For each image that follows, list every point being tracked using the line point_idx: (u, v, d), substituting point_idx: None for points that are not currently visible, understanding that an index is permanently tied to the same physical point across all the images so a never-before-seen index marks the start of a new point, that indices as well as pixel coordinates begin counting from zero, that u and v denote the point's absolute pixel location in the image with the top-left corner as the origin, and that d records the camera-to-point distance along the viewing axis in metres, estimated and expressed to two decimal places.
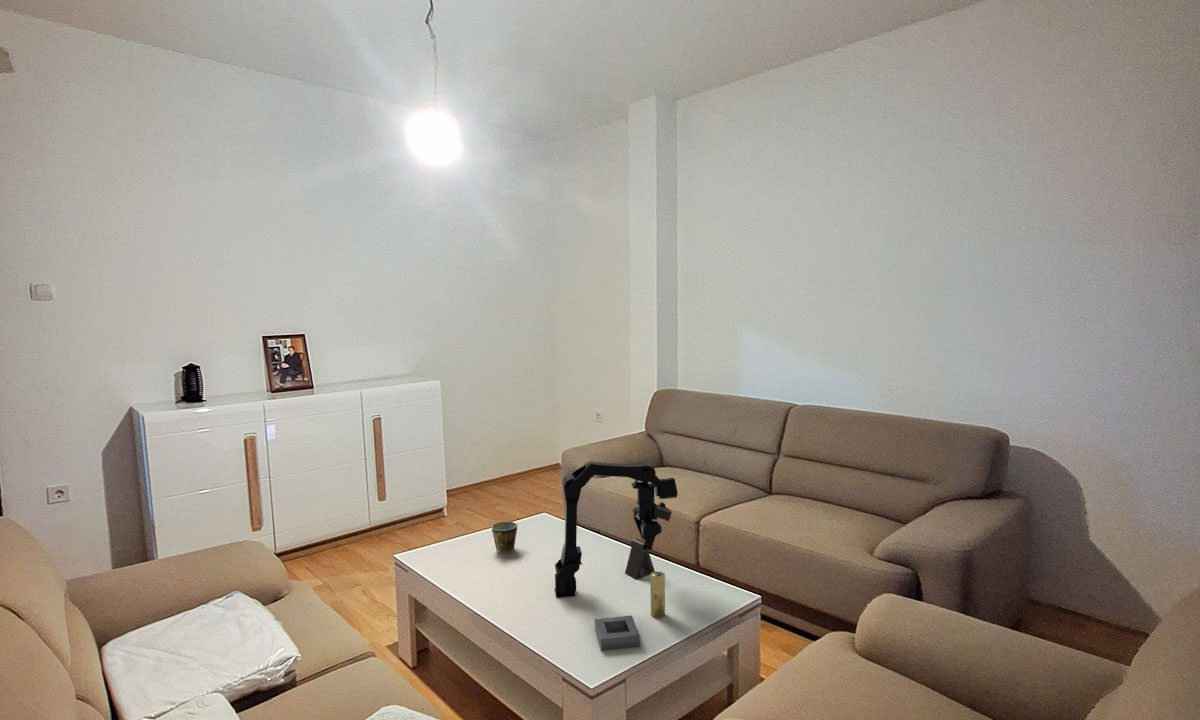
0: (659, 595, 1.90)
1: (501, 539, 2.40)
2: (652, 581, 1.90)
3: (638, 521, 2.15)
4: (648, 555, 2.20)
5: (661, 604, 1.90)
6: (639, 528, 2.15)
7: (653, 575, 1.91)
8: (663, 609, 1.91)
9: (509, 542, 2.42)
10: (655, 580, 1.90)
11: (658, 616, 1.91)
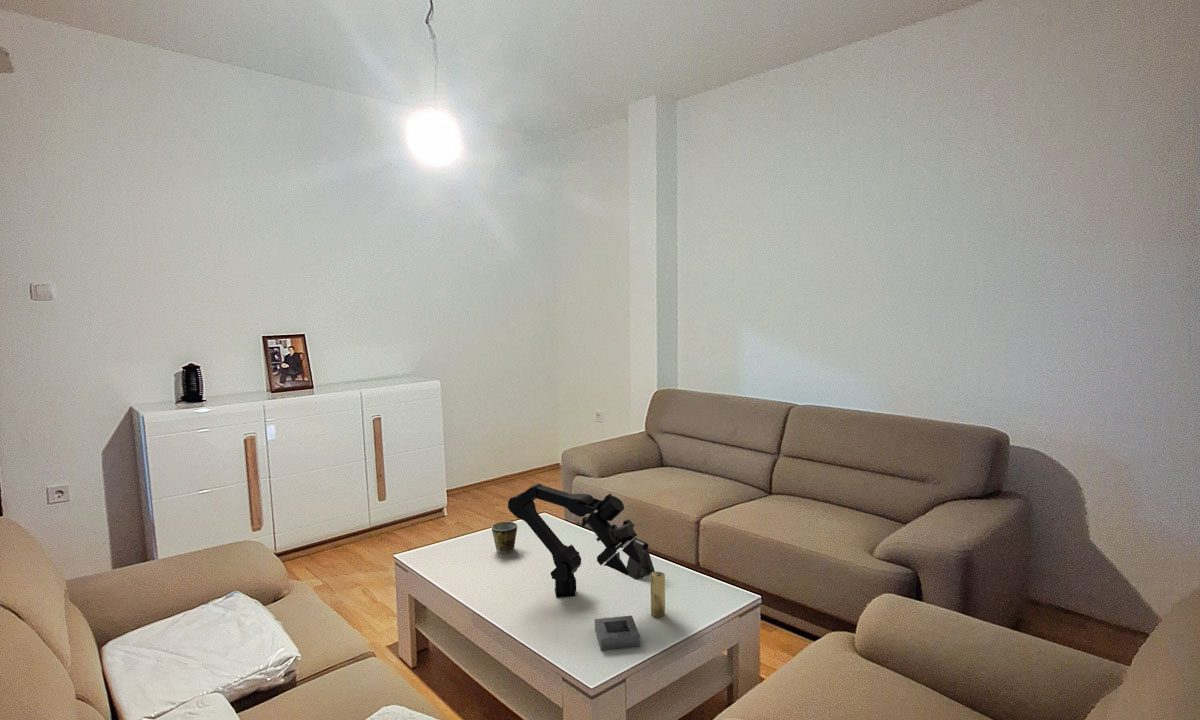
0: (659, 595, 1.90)
1: (501, 539, 2.40)
2: (652, 581, 1.90)
3: (625, 549, 2.02)
4: (648, 555, 2.20)
5: (661, 604, 1.90)
6: (629, 555, 2.01)
7: (653, 575, 1.91)
8: (663, 609, 1.91)
9: (509, 542, 2.42)
10: (655, 580, 1.90)
11: (658, 616, 1.91)
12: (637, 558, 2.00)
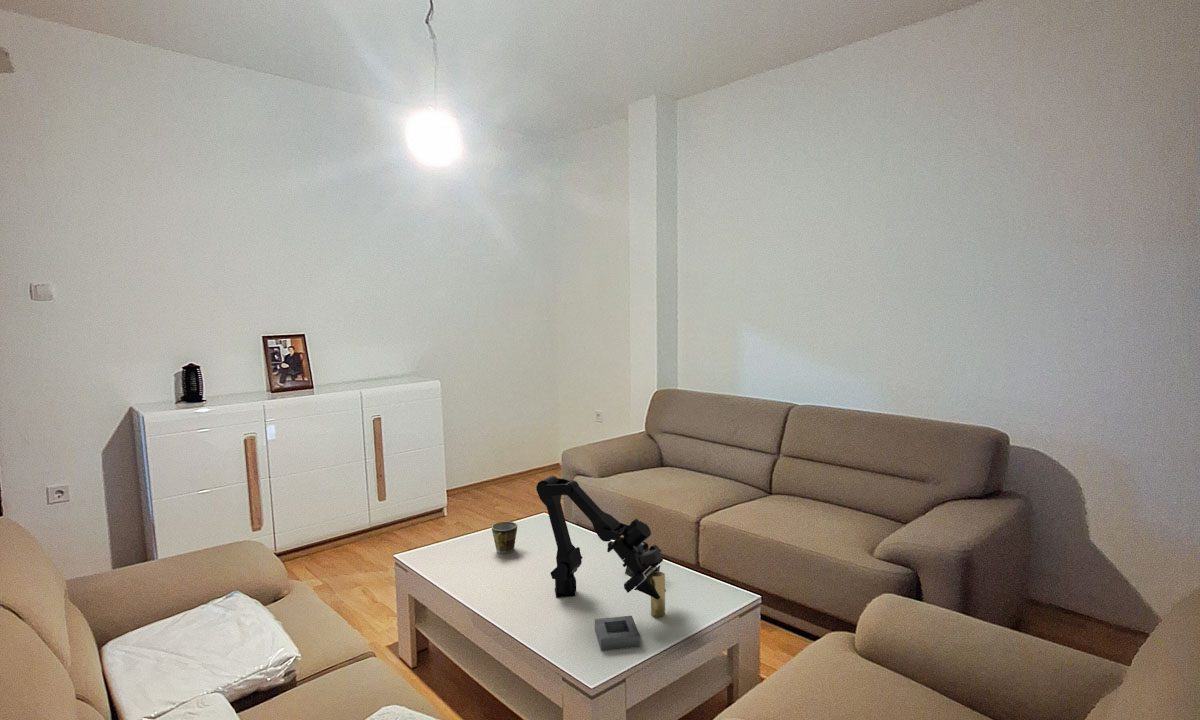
0: (659, 595, 1.90)
1: (501, 539, 2.40)
2: (652, 581, 1.90)
3: None
4: None
5: (661, 604, 1.90)
6: None
7: (654, 575, 1.91)
8: (663, 609, 1.91)
9: (509, 542, 2.42)
10: (655, 580, 1.90)
11: (658, 616, 1.91)
12: None
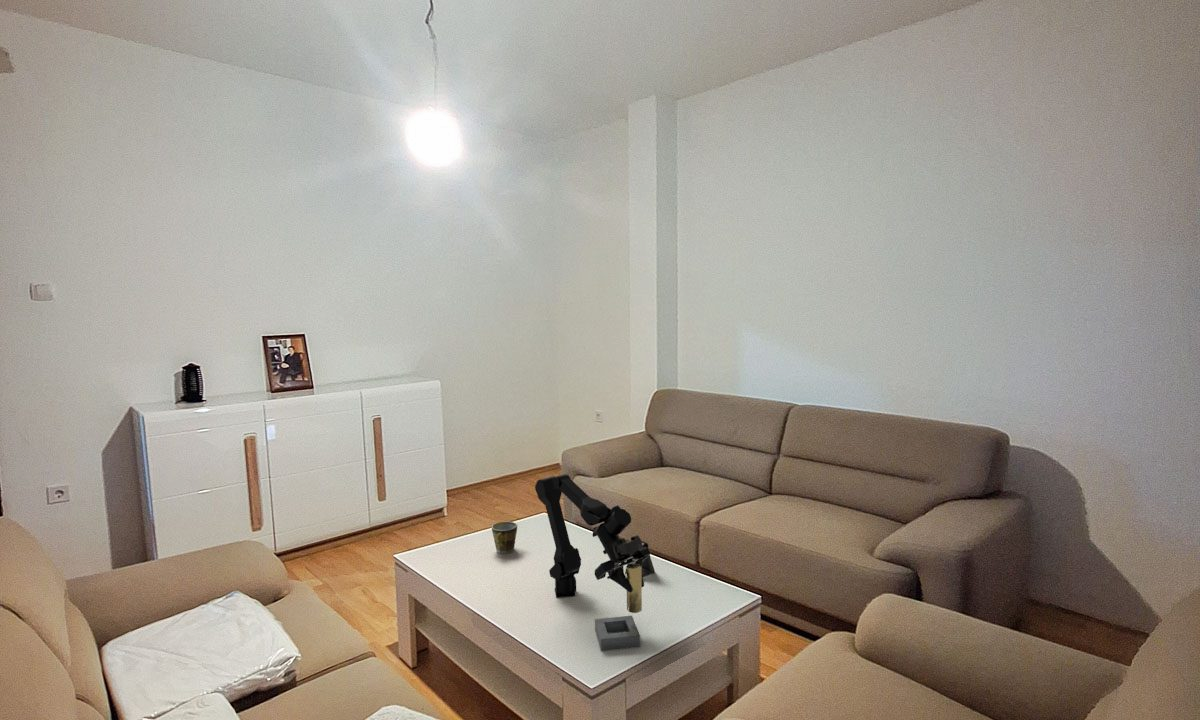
0: (633, 589, 1.80)
1: (501, 539, 2.40)
2: (626, 572, 1.81)
3: None
4: None
5: (635, 598, 1.80)
6: None
7: (629, 566, 1.81)
8: (637, 604, 1.81)
9: (509, 542, 2.42)
10: (628, 572, 1.80)
11: (632, 610, 1.81)
12: None
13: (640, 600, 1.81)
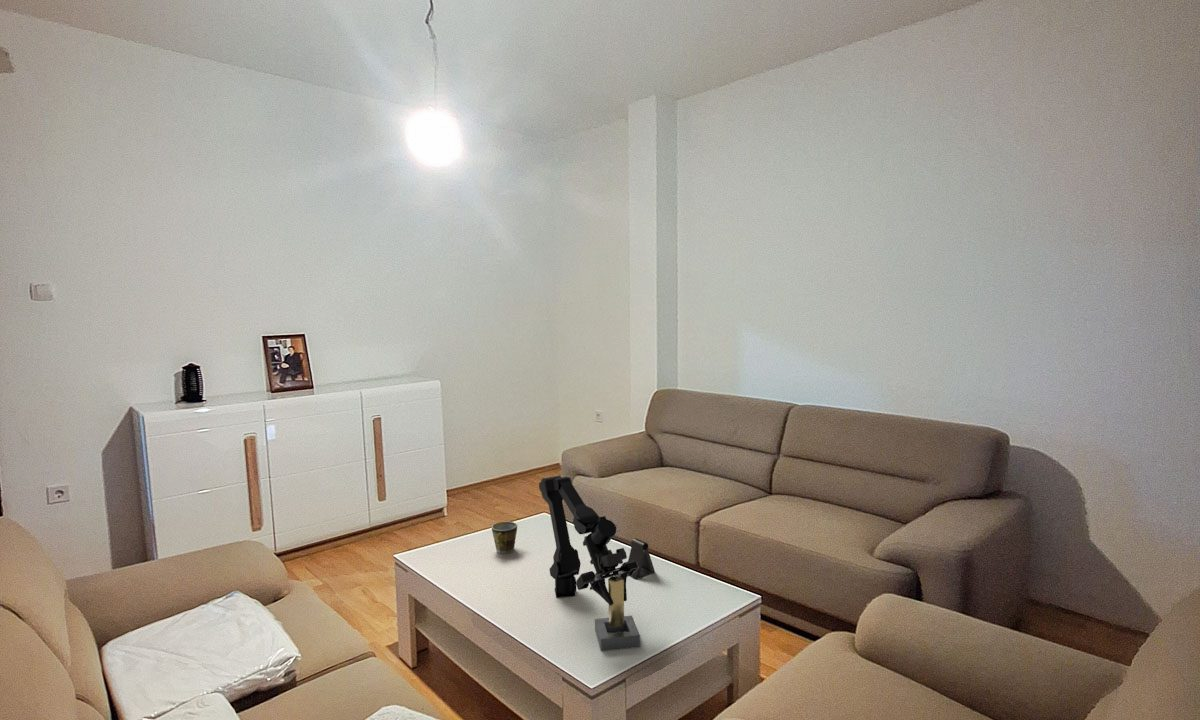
0: (613, 602, 1.77)
1: (501, 539, 2.40)
2: (608, 585, 1.78)
3: None
4: (648, 555, 2.20)
5: (615, 612, 1.77)
6: None
7: (611, 579, 1.78)
8: (618, 618, 1.77)
9: (509, 542, 2.42)
10: (609, 584, 1.77)
11: (612, 624, 1.77)
12: None
13: (621, 614, 1.77)
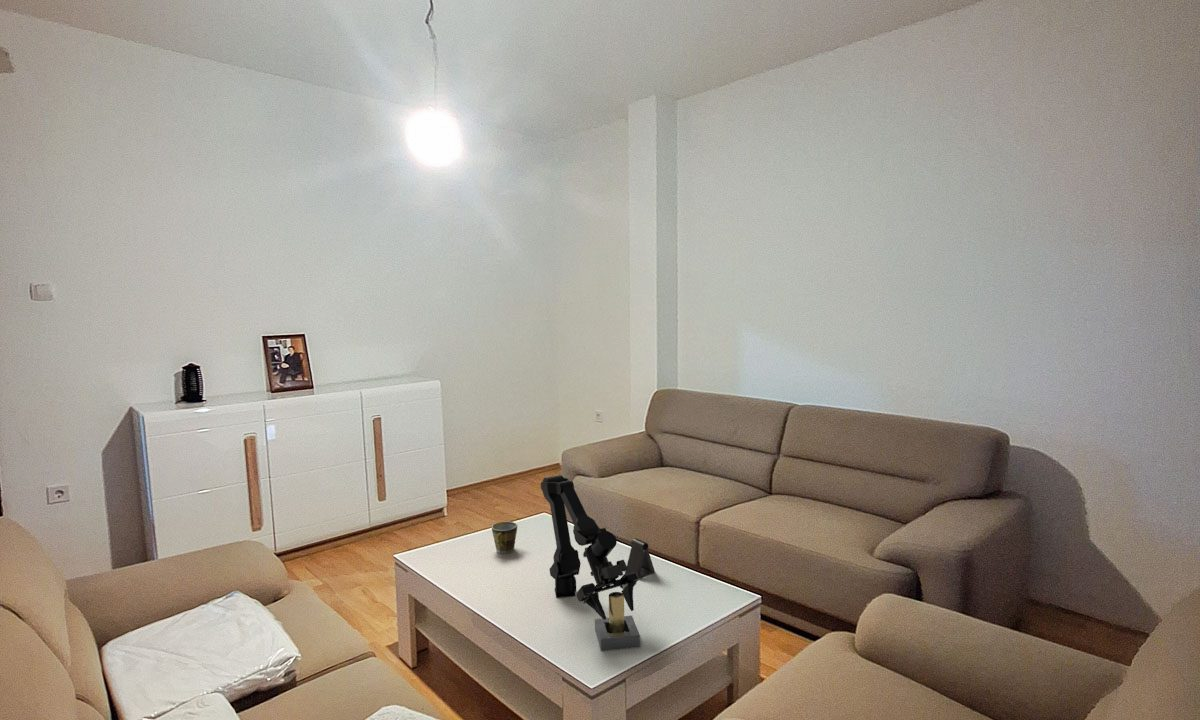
0: (614, 618, 1.77)
1: (501, 539, 2.40)
2: (609, 601, 1.78)
3: (623, 591, 1.85)
4: (648, 555, 2.20)
5: (616, 627, 1.77)
6: (625, 599, 1.83)
7: (611, 595, 1.79)
8: None
9: (509, 542, 2.42)
10: (610, 600, 1.77)
11: None
12: (630, 604, 1.81)
13: (622, 630, 1.78)
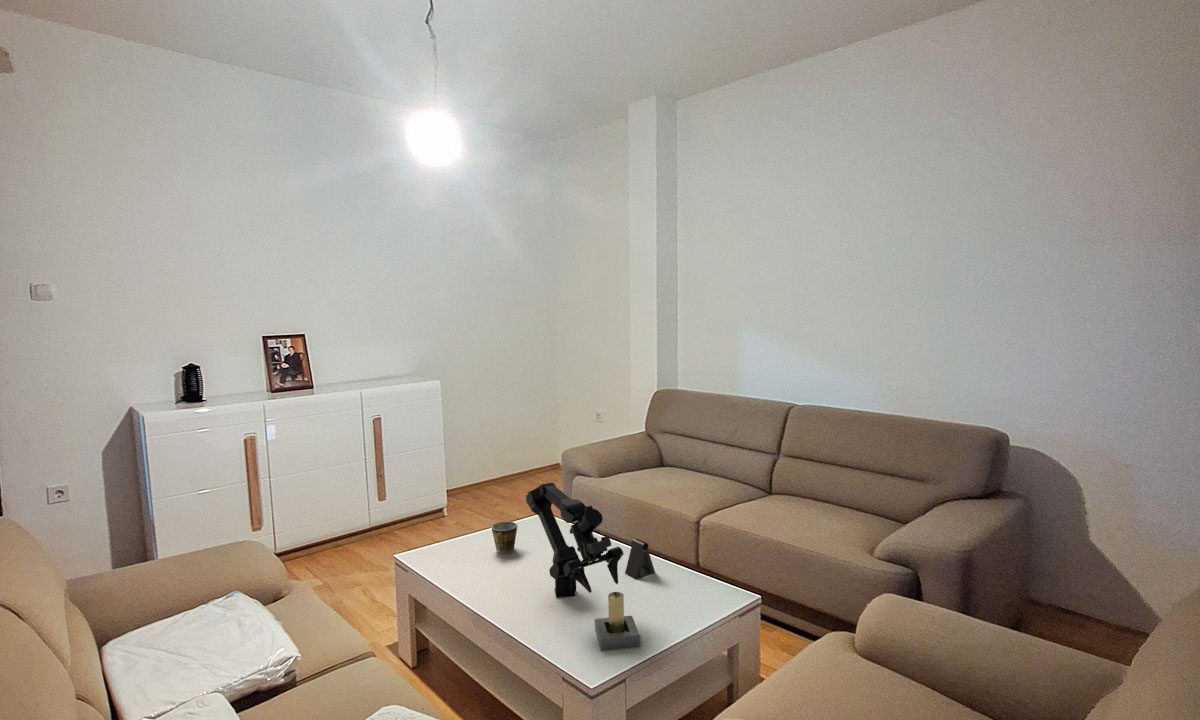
0: (613, 618, 1.77)
1: (501, 539, 2.40)
2: (608, 601, 1.78)
3: (608, 565, 1.93)
4: (648, 555, 2.20)
5: (616, 627, 1.77)
6: (611, 573, 1.92)
7: (611, 595, 1.79)
8: None
9: (509, 542, 2.42)
10: (609, 600, 1.77)
11: None
12: (614, 578, 1.89)
13: (622, 630, 1.78)
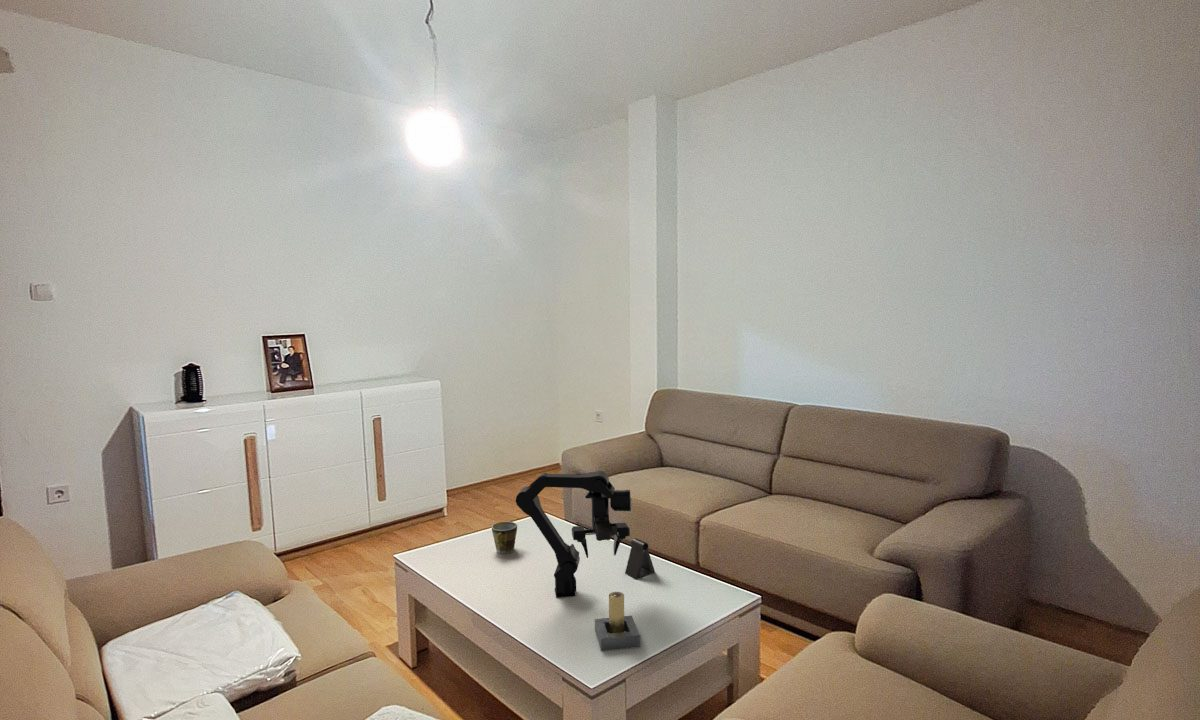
0: (614, 618, 1.77)
1: (501, 539, 2.40)
2: (609, 600, 1.79)
3: (614, 534, 2.08)
4: (648, 555, 2.20)
5: (616, 627, 1.77)
6: (614, 541, 2.08)
7: (611, 594, 1.79)
8: None
9: (509, 542, 2.42)
10: (610, 600, 1.77)
11: None
12: (614, 550, 2.06)
13: (622, 630, 1.78)
